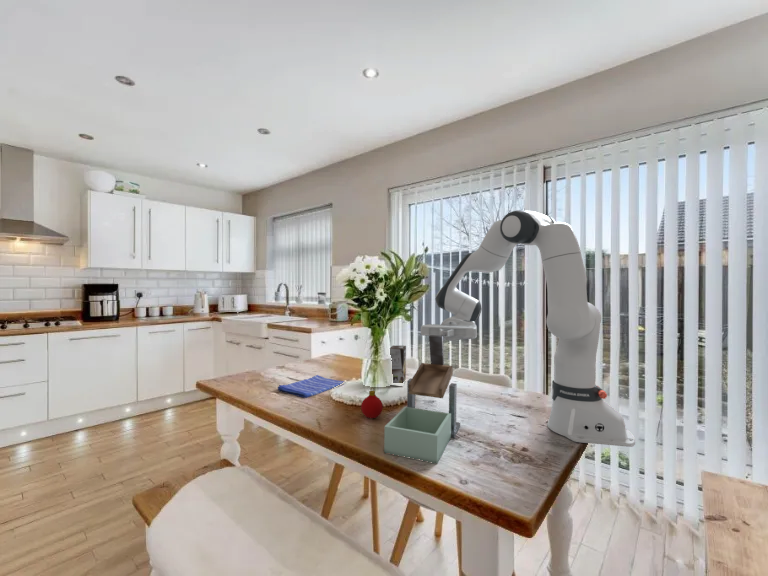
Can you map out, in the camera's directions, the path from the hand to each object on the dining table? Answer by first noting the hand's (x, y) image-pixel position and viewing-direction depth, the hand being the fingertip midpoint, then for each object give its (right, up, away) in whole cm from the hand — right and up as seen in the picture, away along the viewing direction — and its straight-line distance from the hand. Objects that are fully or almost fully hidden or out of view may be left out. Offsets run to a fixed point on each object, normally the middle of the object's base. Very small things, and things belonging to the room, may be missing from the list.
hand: (444, 333), depth 122 cm
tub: (-11, -27, -26) cm, 39 cm away
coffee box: (-15, -26, +33) cm, 45 cm away
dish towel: (-51, -27, +26) cm, 64 cm away
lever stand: (-6, -27, -14) cm, 31 cm away
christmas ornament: (-25, -27, -6) cm, 37 cm away
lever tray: (-6, -13, -14) cm, 20 cm away
